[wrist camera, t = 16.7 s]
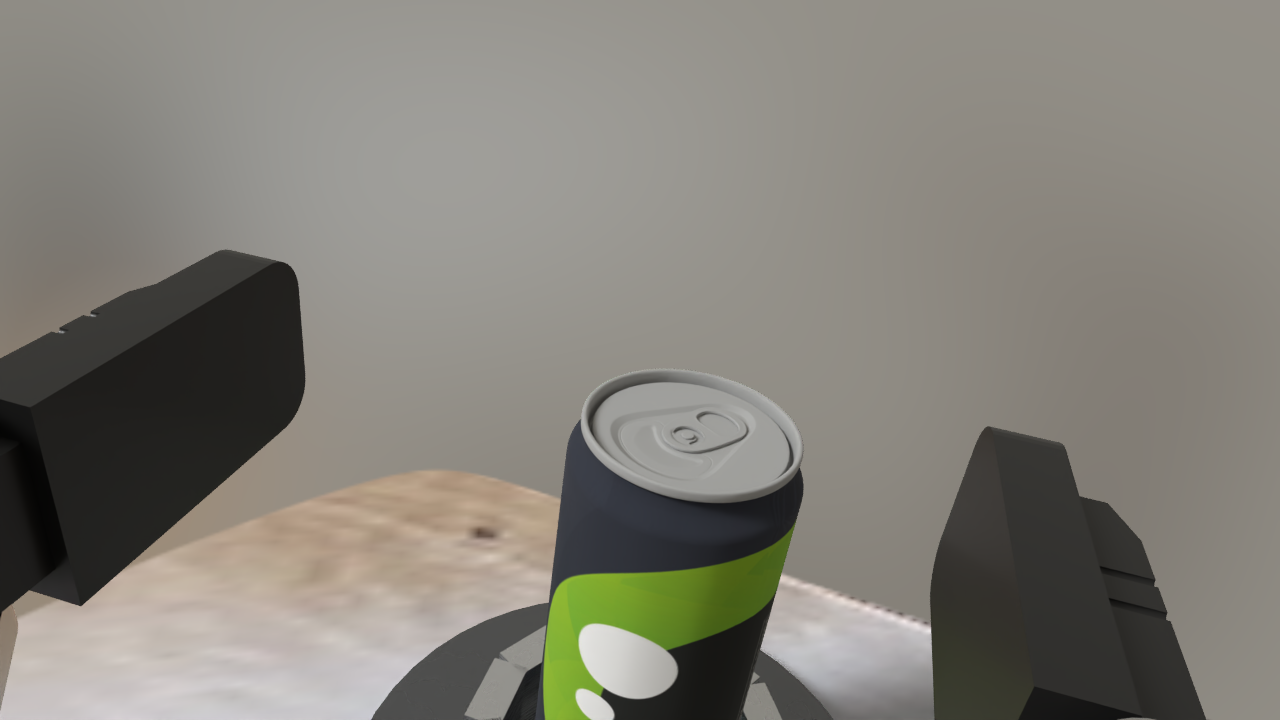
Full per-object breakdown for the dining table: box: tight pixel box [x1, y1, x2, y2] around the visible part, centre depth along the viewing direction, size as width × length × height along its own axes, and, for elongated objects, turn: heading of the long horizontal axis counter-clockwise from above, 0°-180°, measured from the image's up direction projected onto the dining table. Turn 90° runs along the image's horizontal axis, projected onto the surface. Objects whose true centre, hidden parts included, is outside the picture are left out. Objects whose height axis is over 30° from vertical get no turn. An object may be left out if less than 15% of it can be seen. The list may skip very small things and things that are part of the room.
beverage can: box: [535, 369, 803, 720], centre depth 26 cm, size 6×6×15 cm
